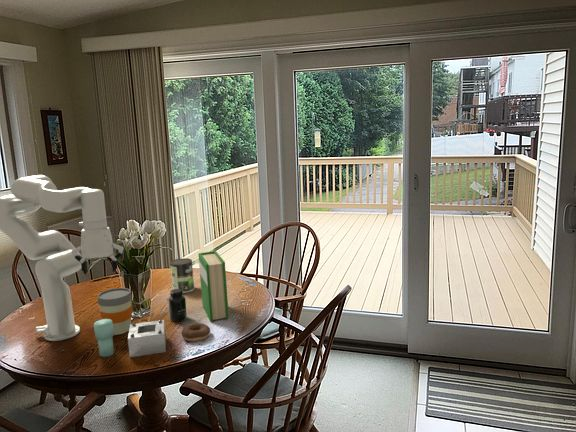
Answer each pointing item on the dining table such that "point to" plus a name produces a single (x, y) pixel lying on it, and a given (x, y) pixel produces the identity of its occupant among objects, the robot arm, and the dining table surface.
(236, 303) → the dining table surface
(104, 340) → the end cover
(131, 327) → the housing
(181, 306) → the supplement bottle
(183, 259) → the coffee can
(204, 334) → the donut
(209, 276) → the hardback book
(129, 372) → the dining table surface
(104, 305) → the reusable coffee cup
